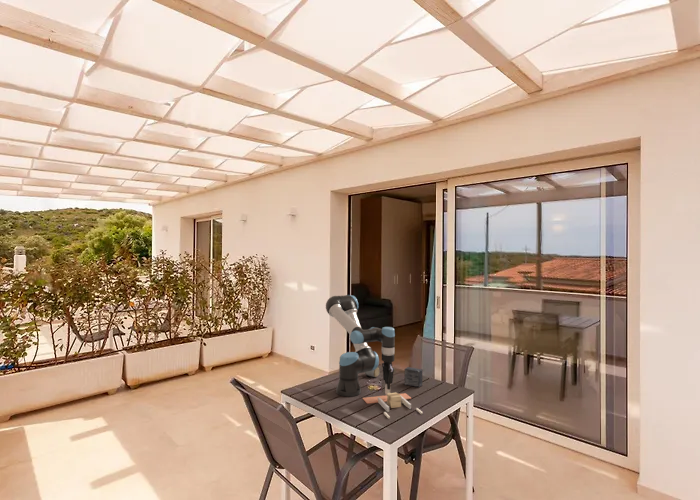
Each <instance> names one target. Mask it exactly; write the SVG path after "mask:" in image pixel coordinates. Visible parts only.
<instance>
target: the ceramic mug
mask: <svg viewBox="0 0 700 500" xmlns="http://www.w3.org/2000/svg"><path fill="white" fill-rule="evenodd" d="M364 374H365V375H366V376H367V377H372V378H377V377H378V376H379V375H380V367H377V368H376V369H375V370H373V371H370V372H364Z"/></svg>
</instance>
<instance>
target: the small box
mask: <svg viewBox="0 0 700 500" xmlns="http://www.w3.org/2000/svg"><path fill="white" fill-rule="evenodd" d="M408 385H409V387H413V386H414V387H413V388H418V387H419V388H420V386H421V387H422V386H423V369H422V368H416V367H410V366H407V367H405V368H404V386H408Z"/></svg>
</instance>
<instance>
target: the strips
mask: <svg viewBox="0 0 700 500" xmlns="http://www.w3.org/2000/svg"><path fill="white" fill-rule="evenodd" d="M415 411H416V412H418V413H419V414H420V415H423V414H424V413H423V411H422V410H421V409H420V408H418V407H415ZM383 415H384V416H385V417H386V418H387V419H391V416H390V415H389V414H388V412H387V411H383Z"/></svg>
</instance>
